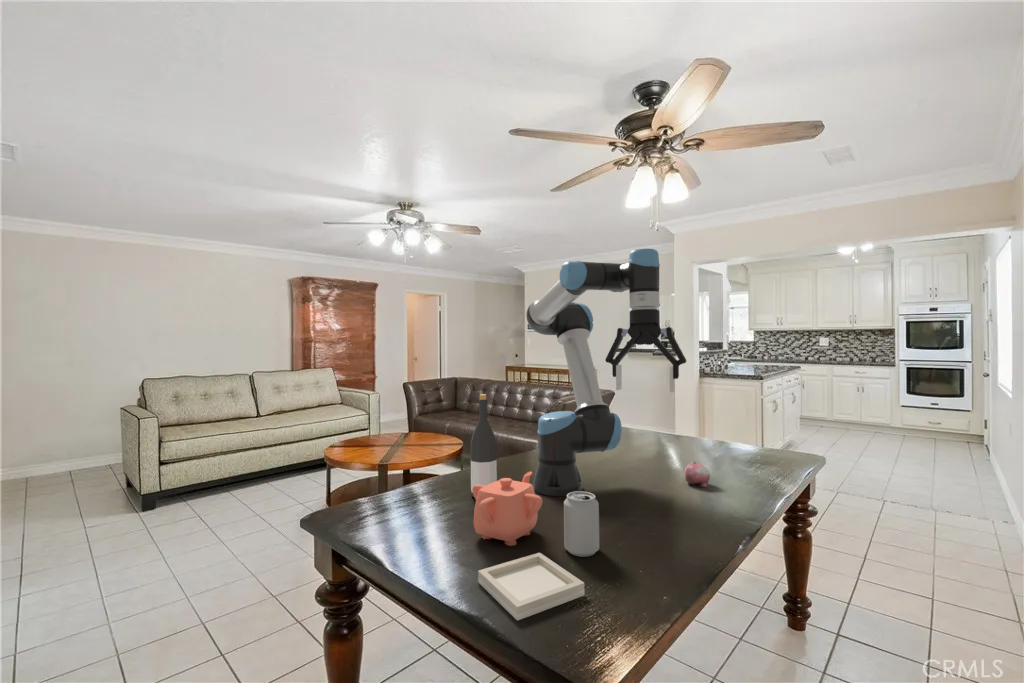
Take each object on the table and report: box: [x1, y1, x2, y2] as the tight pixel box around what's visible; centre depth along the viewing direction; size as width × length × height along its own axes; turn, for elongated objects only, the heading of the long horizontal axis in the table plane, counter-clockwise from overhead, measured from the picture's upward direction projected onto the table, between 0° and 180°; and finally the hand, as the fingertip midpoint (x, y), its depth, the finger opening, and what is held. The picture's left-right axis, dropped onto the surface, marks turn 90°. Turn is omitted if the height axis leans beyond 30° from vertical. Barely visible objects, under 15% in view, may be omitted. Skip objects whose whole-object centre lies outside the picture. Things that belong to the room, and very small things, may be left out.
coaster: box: [477, 552, 586, 621], centre depth 83 cm, size 14×14×2 cm
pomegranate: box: [684, 461, 711, 488], centre depth 143 cm, size 8×8×7 cm
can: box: [563, 490, 600, 558], centre depth 98 cm, size 8×8×12 cm
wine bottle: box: [470, 393, 498, 497], centre depth 135 cm, size 8×8×30 cm
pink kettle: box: [472, 471, 543, 547], centre depth 107 cm, size 17×16×13 cm
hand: (644, 390), depth 118 cm, fingers open, 13 cm apart
